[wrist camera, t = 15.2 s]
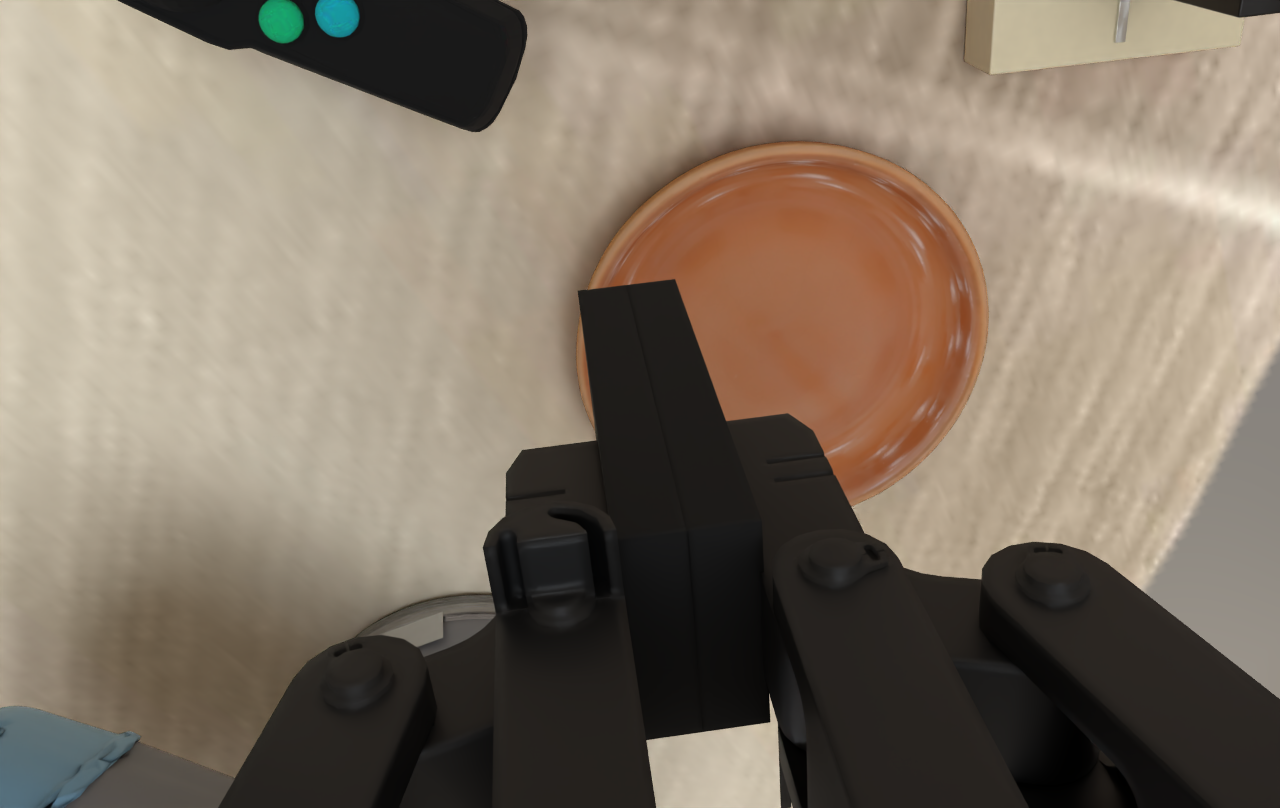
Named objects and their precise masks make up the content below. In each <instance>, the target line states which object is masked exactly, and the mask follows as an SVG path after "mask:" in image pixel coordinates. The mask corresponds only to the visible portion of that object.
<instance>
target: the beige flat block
mask: <svg viewBox="0 0 1280 808" xmlns="http://www.w3.org/2000/svg"><path fill="white" fill-rule="evenodd" d="M1244 19H1245V17H1242V18H1238V17H1234V16H1230V15H1226V14H1223V13H1219V12H1215V11H1211V10H1208V9H1204V8H1200V7H1197V6H1193V5H1189V4H1185V3H1182V2H1178V1H1174V0H967V18H966V38H965V57H964V61H965V62H967V63H968V64H970V65H972V66H974V67H976V68H978V69H980V70H982V71H984V72H985V73H987V74H989V75H996V74H1005V73H1013V72H1022V71H1031V70H1039V69H1048V68H1056V67H1065V66H1073V65H1082V64H1091V63H1099V62H1108V61H1116V60H1125V59H1134V58H1142V57H1151V56H1159V55H1168V54H1176V53H1185V52H1194V51H1202V50H1211V49H1219V48H1228V47H1236V46H1240V42H1241V37H1242V31H1243V25H1244Z"/></svg>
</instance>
